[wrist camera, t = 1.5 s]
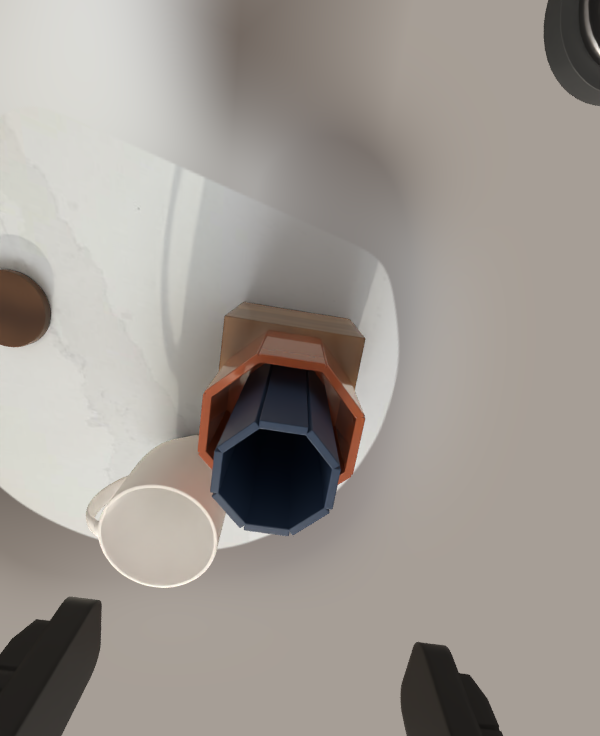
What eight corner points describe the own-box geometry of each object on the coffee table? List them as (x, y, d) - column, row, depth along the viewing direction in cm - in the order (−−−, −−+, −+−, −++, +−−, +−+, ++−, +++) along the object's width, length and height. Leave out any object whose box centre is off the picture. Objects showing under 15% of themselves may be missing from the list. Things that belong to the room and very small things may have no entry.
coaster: (-29, 263, 34) (-37, 263, 34) (50, 276, 35) (44, 276, 34) (-24, 339, 36) (-31, 340, 36) (51, 350, 37) (46, 352, 36)
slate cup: (250, 352, 27) (218, 414, 16) (330, 365, 27) (348, 433, 16) (241, 426, 28) (206, 525, 18) (316, 437, 29) (325, 541, 18)
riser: (243, 301, 35) (224, 315, 27) (350, 319, 36) (365, 338, 27) (231, 402, 38) (210, 444, 29) (330, 417, 38) (339, 463, 30)
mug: (233, 413, 38) (204, 480, 27) (247, 490, 41) (226, 582, 29) (119, 426, 39) (42, 497, 27) (139, 502, 41) (76, 596, 30)
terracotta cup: (230, 323, 27) (207, 345, 20) (357, 343, 27) (376, 371, 20) (217, 439, 29) (192, 493, 23) (334, 456, 30) (343, 514, 23)
